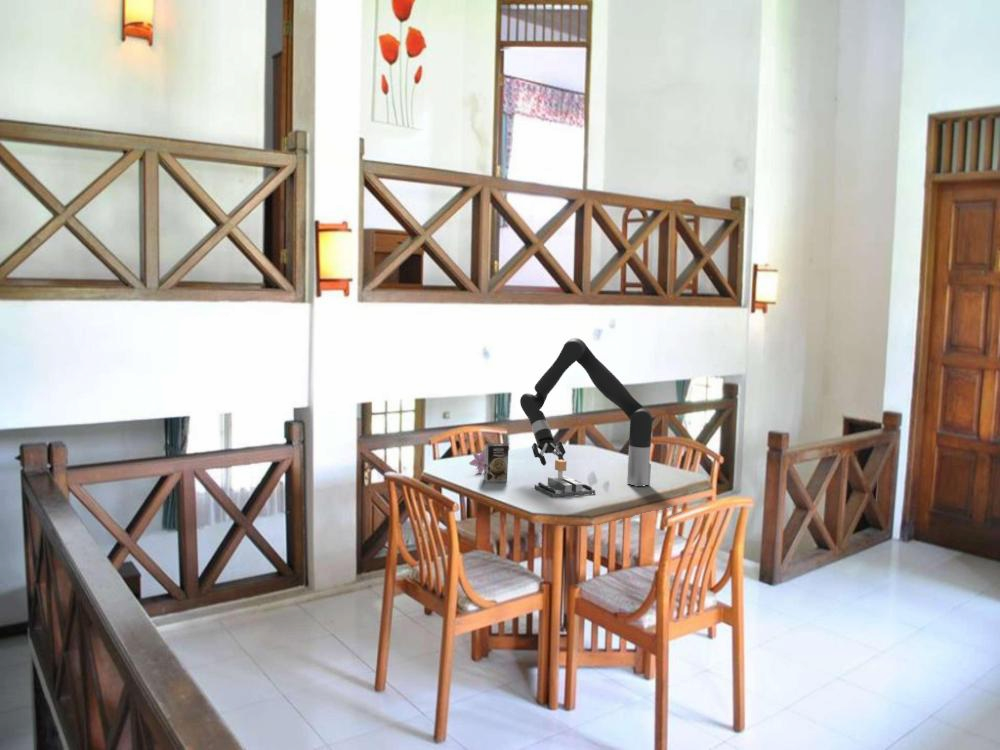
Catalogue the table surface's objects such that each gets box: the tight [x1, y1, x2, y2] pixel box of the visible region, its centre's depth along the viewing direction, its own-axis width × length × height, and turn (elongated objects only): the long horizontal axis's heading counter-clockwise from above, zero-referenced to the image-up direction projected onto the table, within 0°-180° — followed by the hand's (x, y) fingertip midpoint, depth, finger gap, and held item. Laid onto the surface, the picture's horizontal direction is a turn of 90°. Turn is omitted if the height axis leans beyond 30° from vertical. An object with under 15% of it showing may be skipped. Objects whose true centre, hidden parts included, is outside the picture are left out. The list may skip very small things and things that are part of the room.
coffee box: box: [483, 442, 509, 484], centre depth 357 cm, size 9×6×16 cm
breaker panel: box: [533, 475, 596, 498], centre depth 344 cm, size 20×16×4 cm
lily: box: [468, 448, 485, 474], centre depth 373 cm, size 12×12×10 cm
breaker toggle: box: [554, 459, 567, 480], centre depth 348 cm, size 3×4×10 cm
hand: (553, 464), depth 352 cm, fingers open, 8 cm apart
